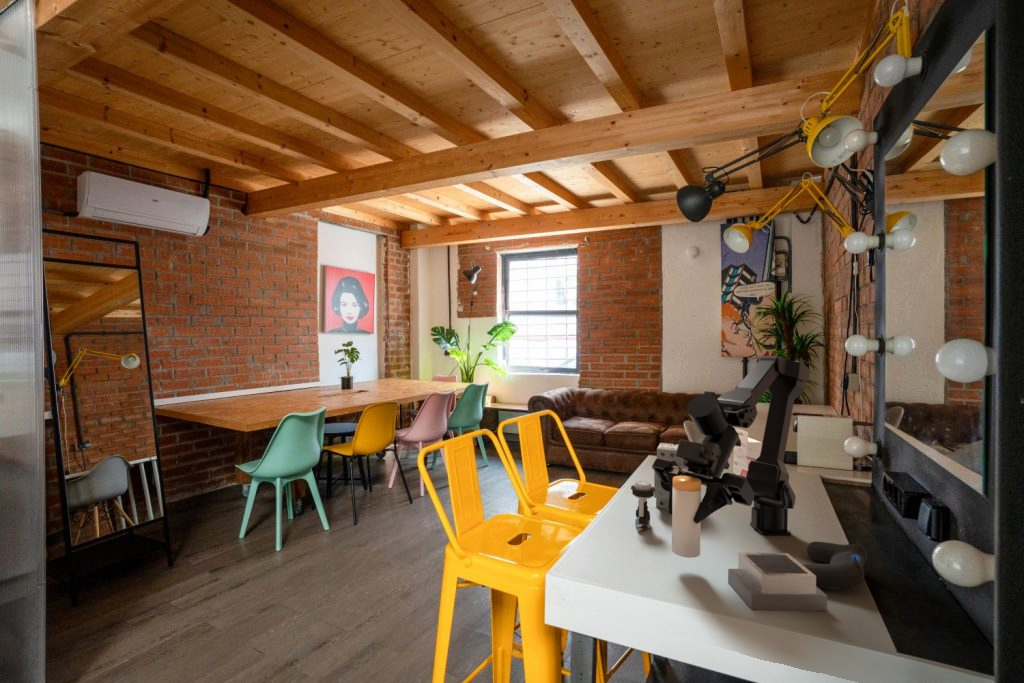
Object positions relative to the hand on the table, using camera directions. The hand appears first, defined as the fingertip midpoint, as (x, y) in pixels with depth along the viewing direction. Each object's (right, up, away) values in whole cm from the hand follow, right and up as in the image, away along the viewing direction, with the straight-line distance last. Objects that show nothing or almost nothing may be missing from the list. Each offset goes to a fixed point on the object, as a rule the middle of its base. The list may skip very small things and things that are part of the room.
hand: (682, 517), depth 95 cm
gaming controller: (+27, -11, -1) cm, 29 cm away
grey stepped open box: (+13, -10, -8) cm, 18 cm away
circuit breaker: (+9, -10, +36) cm, 38 cm away
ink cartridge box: (+42, -10, +67) cm, 80 cm away
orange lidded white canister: (+1, -7, +1) cm, 7 cm away
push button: (-2, -10, +22) cm, 24 cm away
